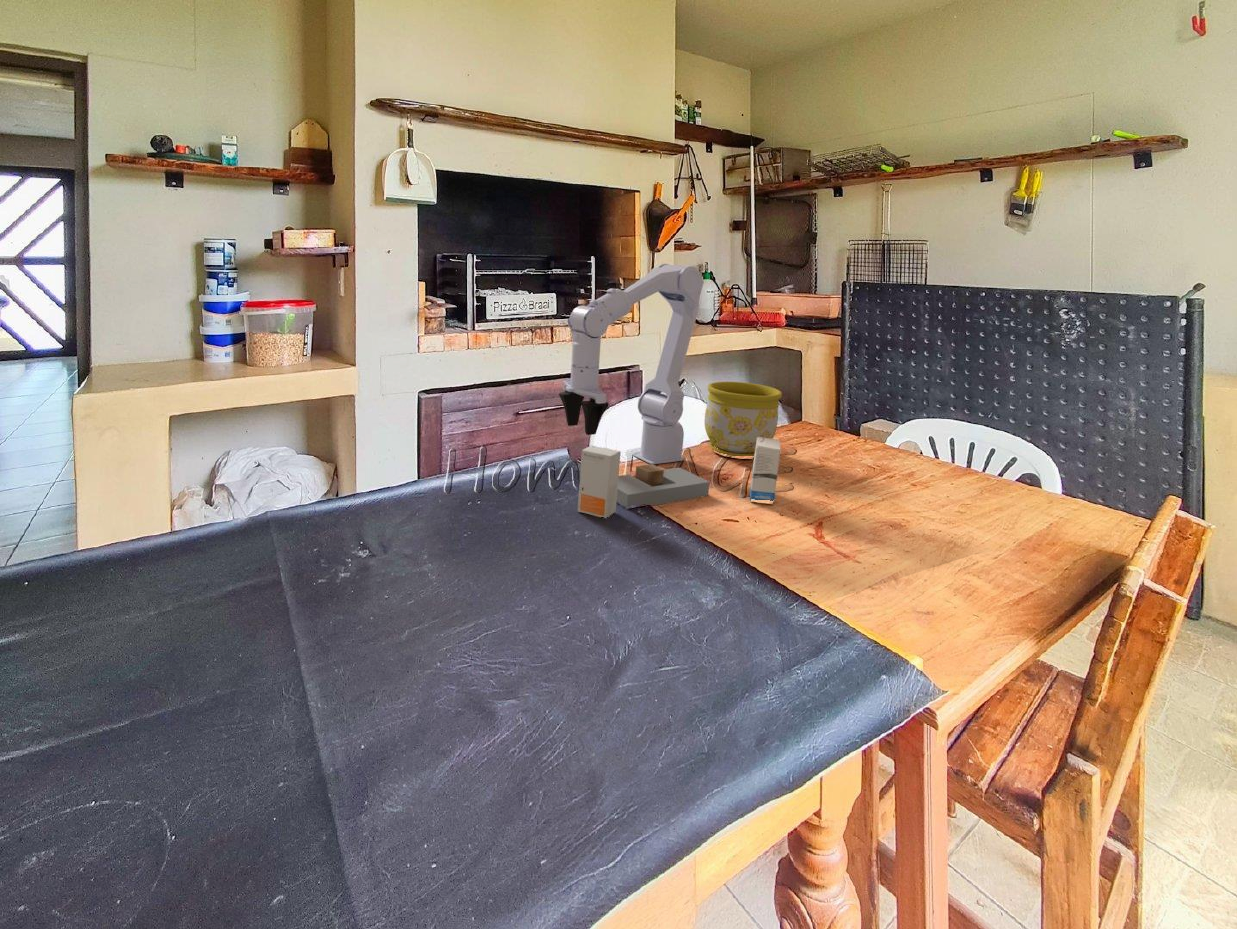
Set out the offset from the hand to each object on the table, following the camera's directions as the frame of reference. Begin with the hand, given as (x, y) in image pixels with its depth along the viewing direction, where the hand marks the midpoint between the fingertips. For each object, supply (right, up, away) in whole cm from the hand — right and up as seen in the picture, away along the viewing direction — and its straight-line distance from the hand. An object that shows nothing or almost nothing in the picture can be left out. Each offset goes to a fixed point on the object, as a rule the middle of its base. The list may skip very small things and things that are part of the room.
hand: (581, 429), depth 146 cm
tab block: (+14, -13, -6) cm, 20 cm away
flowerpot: (+37, -5, +27) cm, 46 cm away
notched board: (+15, -13, -8) cm, 21 cm away
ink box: (+37, -14, -4) cm, 40 cm away
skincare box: (+4, -16, -19) cm, 26 cm away
